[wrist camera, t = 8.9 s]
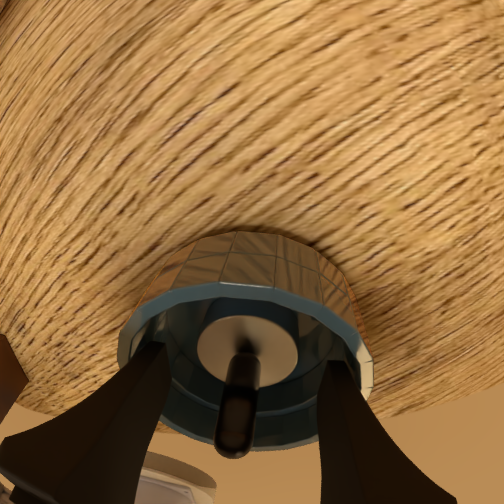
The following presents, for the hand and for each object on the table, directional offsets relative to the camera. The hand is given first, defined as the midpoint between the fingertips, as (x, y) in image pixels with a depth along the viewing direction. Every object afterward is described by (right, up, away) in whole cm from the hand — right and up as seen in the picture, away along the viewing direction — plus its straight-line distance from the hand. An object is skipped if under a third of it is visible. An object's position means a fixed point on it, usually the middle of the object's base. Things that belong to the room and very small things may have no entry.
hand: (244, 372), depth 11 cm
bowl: (0, +1, +3) cm, 3 cm away
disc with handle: (0, +1, +2) cm, 2 cm away
